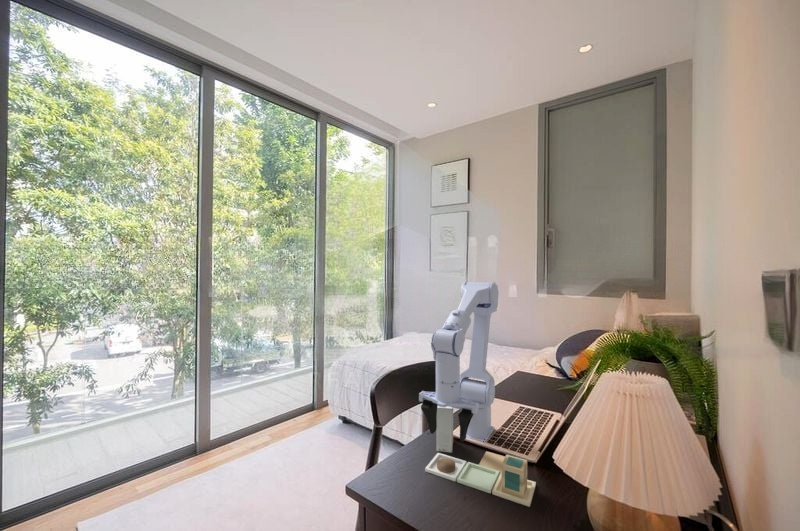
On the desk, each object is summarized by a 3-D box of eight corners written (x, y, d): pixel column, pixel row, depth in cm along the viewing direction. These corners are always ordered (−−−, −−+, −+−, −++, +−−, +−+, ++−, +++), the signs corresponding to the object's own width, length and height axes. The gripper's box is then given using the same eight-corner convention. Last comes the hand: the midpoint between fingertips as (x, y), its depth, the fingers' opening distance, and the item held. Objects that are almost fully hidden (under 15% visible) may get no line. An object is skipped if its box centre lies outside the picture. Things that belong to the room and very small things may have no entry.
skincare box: (452, 454, 90) (452, 408, 90) (436, 452, 91) (435, 407, 90) (453, 442, 96) (453, 399, 95) (438, 440, 97) (438, 398, 96)
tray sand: (501, 476, 81) (501, 471, 81) (535, 487, 77) (535, 482, 77) (492, 496, 74) (492, 490, 74) (529, 509, 70) (529, 503, 70)
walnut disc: (441, 460, 86) (441, 456, 86) (458, 465, 84) (458, 461, 84) (434, 469, 83) (434, 465, 83) (451, 475, 80) (451, 471, 80)
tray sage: (468, 466, 85) (468, 461, 85) (499, 476, 81) (499, 471, 81) (456, 484, 78) (457, 479, 78) (490, 495, 74) (490, 490, 74)
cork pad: (486, 453, 90) (486, 451, 90) (513, 461, 87) (513, 458, 87) (478, 467, 84) (478, 465, 84) (507, 476, 81) (507, 474, 81)
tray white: (438, 457, 89) (438, 452, 89) (466, 466, 85) (466, 461, 85) (425, 473, 82) (425, 468, 82) (455, 483, 78) (455, 478, 78)
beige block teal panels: (506, 480, 78) (506, 453, 78) (527, 486, 76) (527, 459, 76) (501, 492, 74) (501, 464, 74) (523, 499, 72) (523, 470, 72)
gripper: (413, 379, 83) (413, 435, 83) (471, 391, 76) (471, 452, 76) (426, 371, 89) (426, 423, 89) (481, 381, 82) (481, 437, 82)
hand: (447, 435), depth 83 cm, fingers open, 7 cm apart
